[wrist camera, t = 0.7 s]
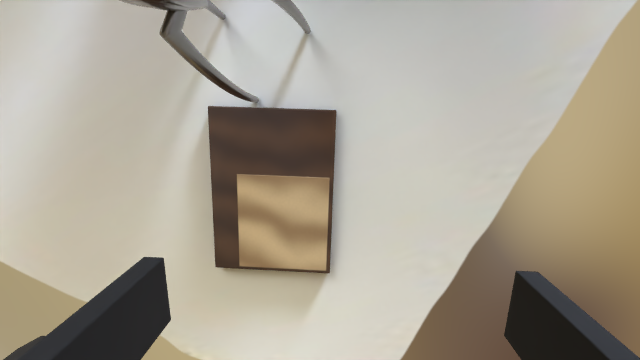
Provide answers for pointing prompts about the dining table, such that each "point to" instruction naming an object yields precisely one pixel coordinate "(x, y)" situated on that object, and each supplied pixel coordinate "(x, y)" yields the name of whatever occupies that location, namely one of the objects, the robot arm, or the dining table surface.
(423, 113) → the dining table surface
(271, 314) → the dining table surface
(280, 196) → the board
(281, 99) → the dining table surface
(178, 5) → the juicer
